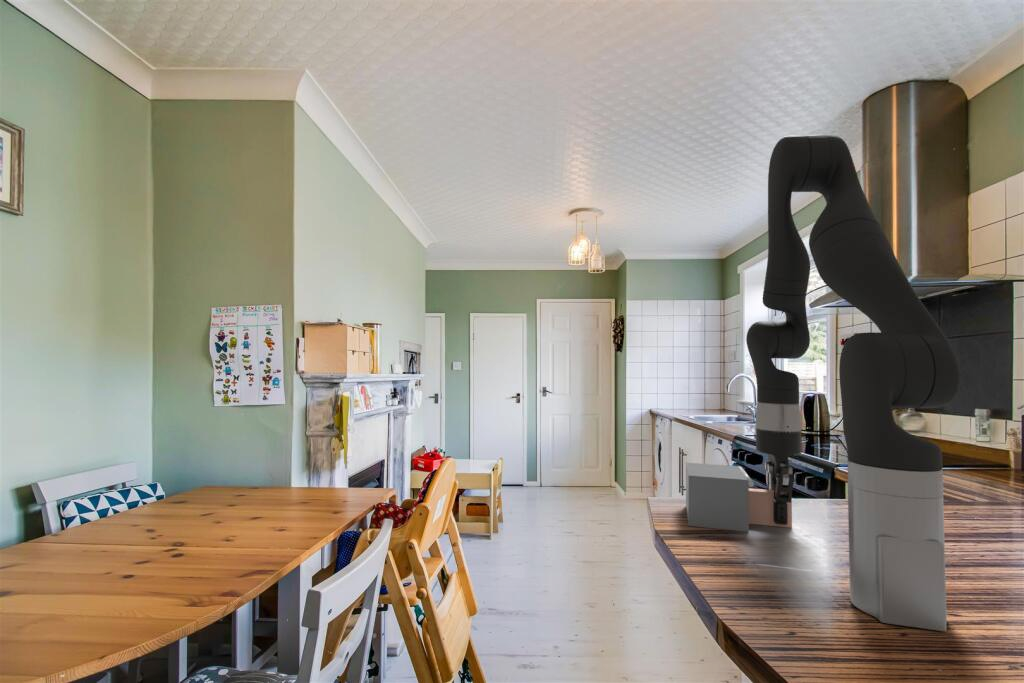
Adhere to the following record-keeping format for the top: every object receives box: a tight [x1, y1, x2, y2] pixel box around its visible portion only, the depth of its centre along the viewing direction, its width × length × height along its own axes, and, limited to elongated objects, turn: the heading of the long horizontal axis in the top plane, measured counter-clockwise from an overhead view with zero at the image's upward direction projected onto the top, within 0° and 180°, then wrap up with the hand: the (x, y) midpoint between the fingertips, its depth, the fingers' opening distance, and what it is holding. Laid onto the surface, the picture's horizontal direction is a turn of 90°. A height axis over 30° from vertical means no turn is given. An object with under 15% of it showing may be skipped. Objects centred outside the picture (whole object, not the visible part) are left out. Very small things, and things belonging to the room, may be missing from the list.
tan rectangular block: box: [748, 487, 793, 529], centre depth 96 cm, size 2×16×6 cm, turn 73°
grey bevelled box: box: [685, 462, 755, 533], centre depth 97 cm, size 14×11×9 cm
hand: (778, 521), depth 94 cm, fingers closed on tan rectangular block, 2 cm apart
